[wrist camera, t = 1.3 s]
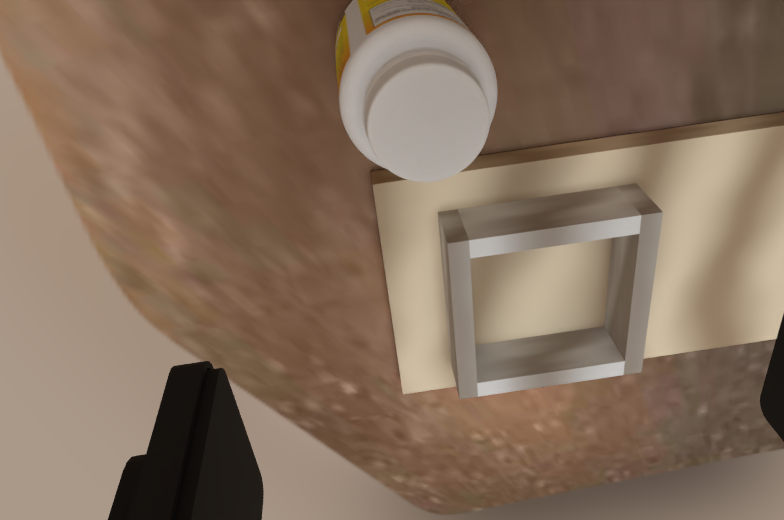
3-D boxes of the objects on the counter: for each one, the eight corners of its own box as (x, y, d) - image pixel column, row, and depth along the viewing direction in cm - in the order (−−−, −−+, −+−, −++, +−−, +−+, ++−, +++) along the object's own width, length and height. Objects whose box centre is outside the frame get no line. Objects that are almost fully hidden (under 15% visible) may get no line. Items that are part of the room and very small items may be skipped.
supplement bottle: (392, 127, 31) (418, 235, 22) (308, 40, 28) (301, 124, 20) (483, 46, 29) (550, 129, 21) (403, -55, 27) (441, -7, 18)
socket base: (882, 97, 32) (956, 130, 29) (814, 315, 40) (865, 364, 36) (370, 171, 32) (376, 214, 28) (400, 376, 40) (408, 432, 36)
